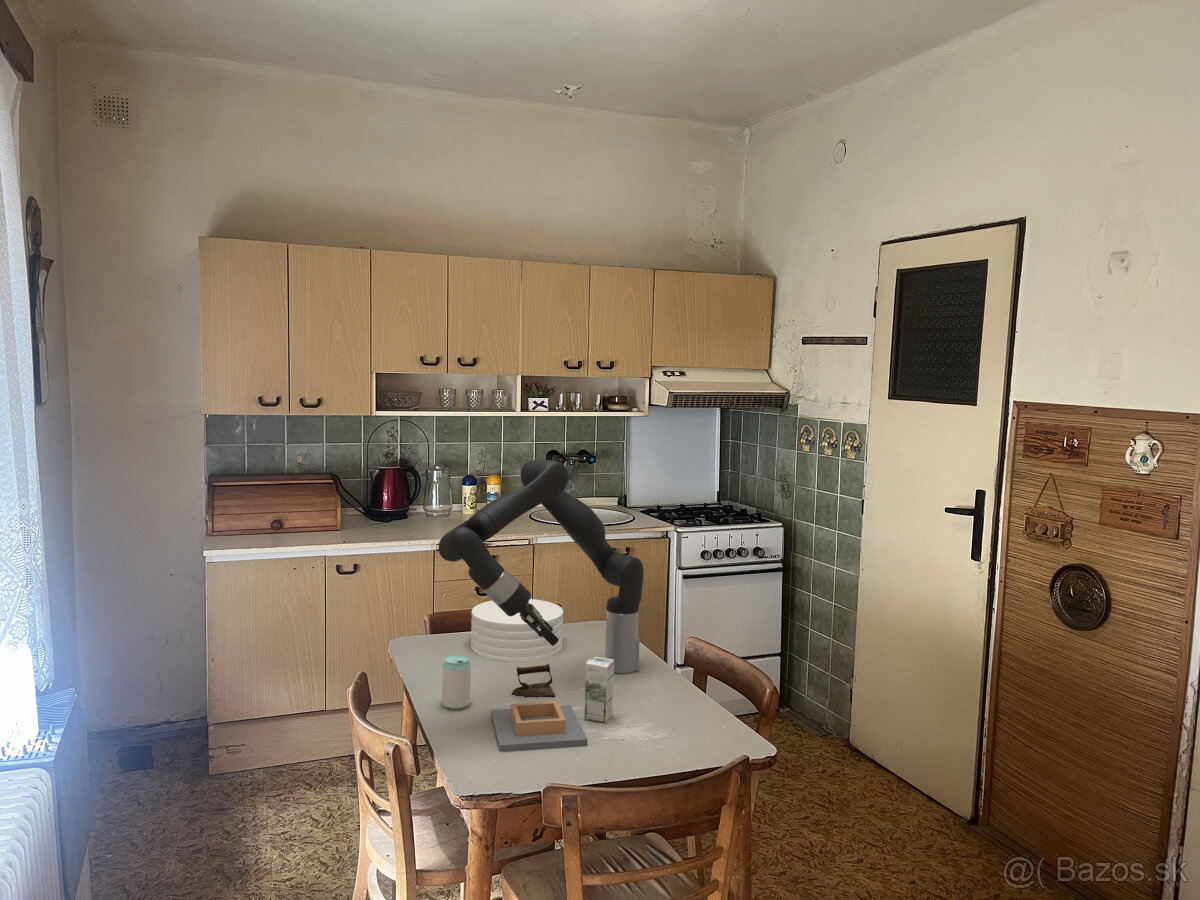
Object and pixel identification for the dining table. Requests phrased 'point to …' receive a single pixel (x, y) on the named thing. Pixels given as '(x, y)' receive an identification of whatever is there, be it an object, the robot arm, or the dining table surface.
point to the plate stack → (514, 632)
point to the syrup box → (599, 689)
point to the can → (456, 682)
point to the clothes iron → (534, 689)
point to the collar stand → (537, 726)
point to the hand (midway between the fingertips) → (553, 637)
